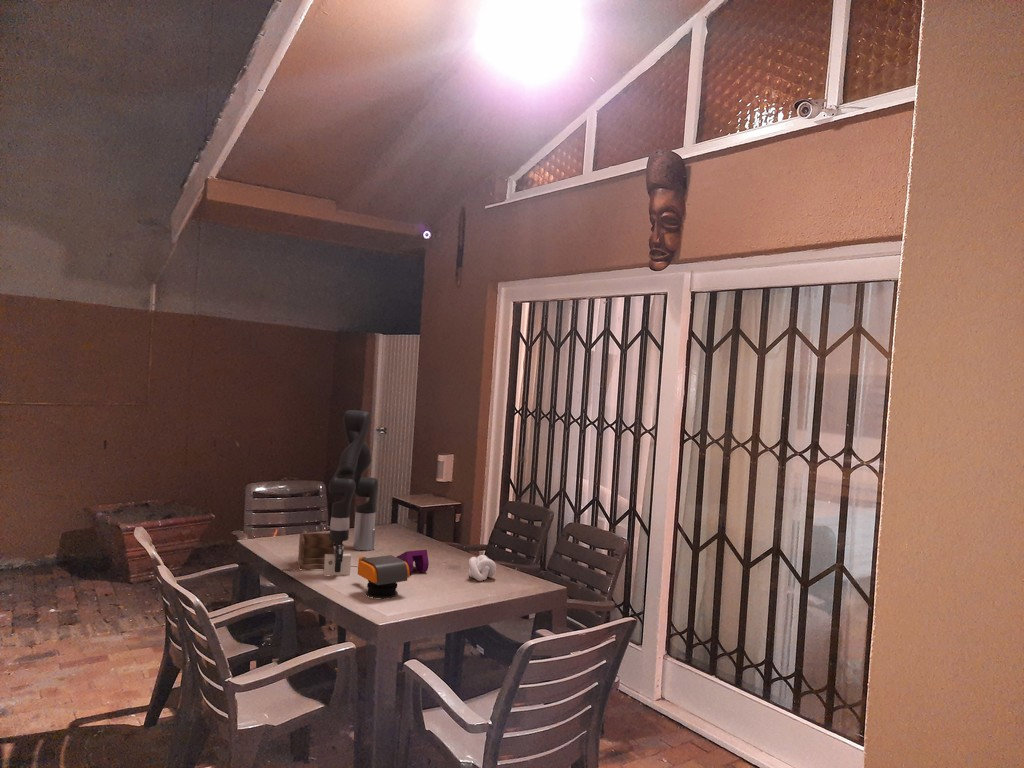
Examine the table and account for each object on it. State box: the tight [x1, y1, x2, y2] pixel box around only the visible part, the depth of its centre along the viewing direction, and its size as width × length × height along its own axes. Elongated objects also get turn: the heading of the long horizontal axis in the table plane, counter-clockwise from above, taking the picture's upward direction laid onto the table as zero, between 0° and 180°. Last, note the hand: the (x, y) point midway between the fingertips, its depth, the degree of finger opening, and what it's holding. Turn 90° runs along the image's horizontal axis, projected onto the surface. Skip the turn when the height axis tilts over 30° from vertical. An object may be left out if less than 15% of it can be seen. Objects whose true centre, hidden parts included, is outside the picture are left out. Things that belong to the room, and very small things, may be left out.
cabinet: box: [297, 532, 335, 569], centre depth 290 cm, size 16×14×12 cm
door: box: [323, 553, 352, 576], centre depth 278 cm, size 10×4×8 cm, turn 110°
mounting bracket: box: [396, 549, 430, 574], centre depth 293 cm, size 10×8×18 cm
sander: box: [357, 554, 411, 600], centre depth 261 cm, size 15×25×13 cm, turn 39°
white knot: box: [468, 554, 497, 582], centre depth 285 cm, size 11×12×9 cm
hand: (337, 570), depth 278 cm, fingers open, 3 cm apart
